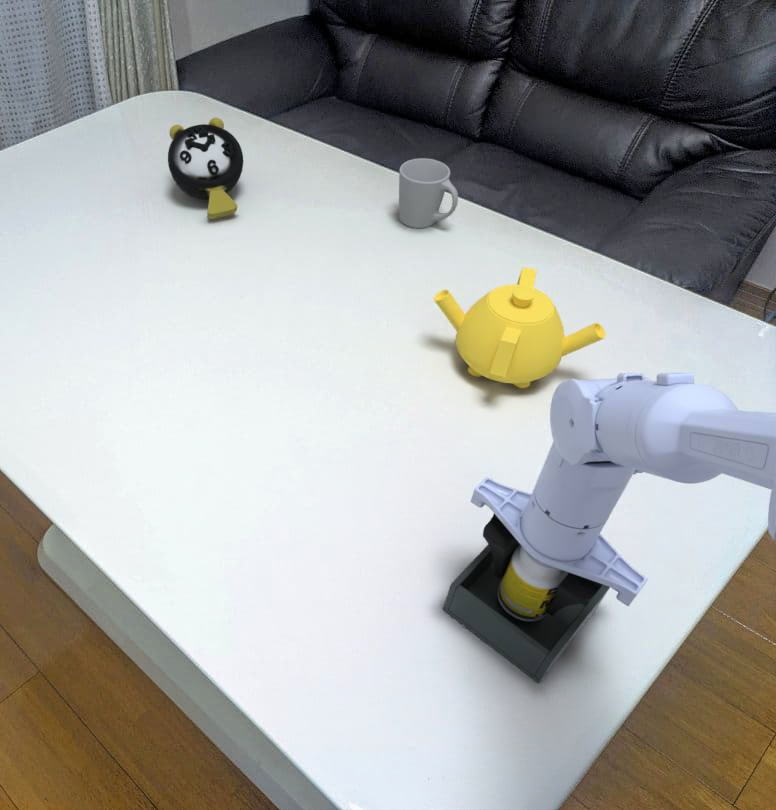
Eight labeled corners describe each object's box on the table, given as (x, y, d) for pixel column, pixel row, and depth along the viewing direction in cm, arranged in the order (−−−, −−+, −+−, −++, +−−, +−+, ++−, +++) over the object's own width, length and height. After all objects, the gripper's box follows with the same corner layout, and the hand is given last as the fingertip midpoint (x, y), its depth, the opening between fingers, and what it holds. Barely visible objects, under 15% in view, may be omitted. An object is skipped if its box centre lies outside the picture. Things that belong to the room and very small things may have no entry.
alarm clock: (175, 234, 124) (134, 149, 117) (219, 196, 133) (183, 115, 126) (228, 222, 117) (188, 131, 109) (271, 183, 126) (236, 96, 118)
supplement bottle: (537, 632, 66) (564, 584, 60) (488, 604, 68) (509, 555, 62) (557, 594, 69) (584, 543, 63) (509, 568, 71) (531, 517, 65)
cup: (411, 201, 121) (418, 153, 115) (463, 223, 116) (474, 173, 110) (383, 220, 118) (389, 171, 112) (436, 243, 113) (445, 193, 107)
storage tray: (595, 609, 70) (611, 584, 66) (538, 683, 65) (552, 660, 62) (501, 545, 75) (511, 518, 72) (442, 609, 70) (450, 584, 67)
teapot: (407, 387, 91) (420, 317, 83) (441, 304, 102) (455, 235, 94) (577, 432, 85) (608, 361, 77) (593, 338, 96) (622, 268, 88)
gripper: (688, 523, 55) (626, 611, 65) (517, 424, 63) (484, 517, 73) (645, 581, 52) (586, 665, 62) (470, 469, 60) (442, 560, 69)
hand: (528, 588), depth 67 cm, fingers closed on supplement bottle, 5 cm apart
